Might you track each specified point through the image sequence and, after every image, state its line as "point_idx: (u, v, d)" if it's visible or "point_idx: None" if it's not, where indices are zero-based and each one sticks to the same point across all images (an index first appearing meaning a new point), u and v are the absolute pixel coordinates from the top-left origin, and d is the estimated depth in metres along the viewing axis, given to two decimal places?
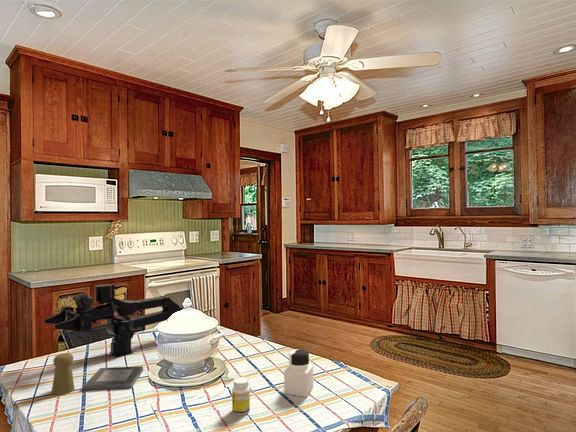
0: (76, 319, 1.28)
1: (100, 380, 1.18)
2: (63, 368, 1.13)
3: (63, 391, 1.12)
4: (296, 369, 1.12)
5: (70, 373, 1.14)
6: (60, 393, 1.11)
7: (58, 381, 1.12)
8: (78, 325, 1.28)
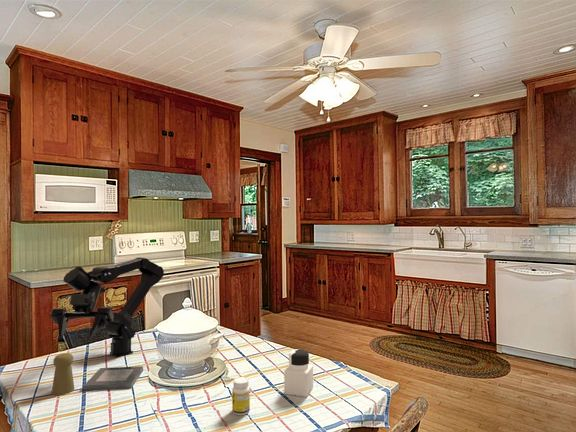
0: (100, 318, 1.26)
1: (100, 380, 1.18)
2: (63, 368, 1.13)
3: (63, 391, 1.12)
4: (296, 369, 1.12)
5: (70, 373, 1.14)
6: (60, 393, 1.11)
7: (58, 381, 1.12)
8: (103, 321, 1.28)
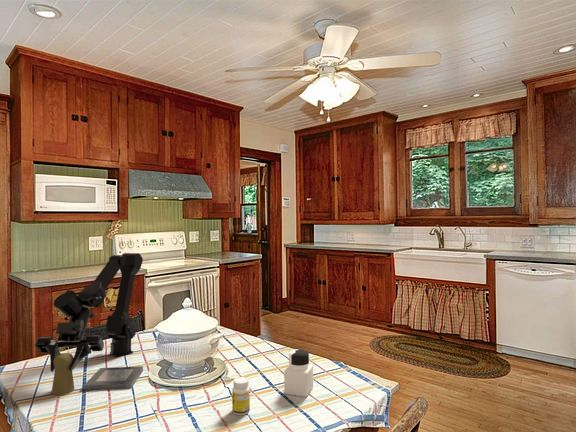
0: (82, 348, 1.17)
1: (100, 380, 1.18)
2: (63, 368, 1.13)
3: (63, 391, 1.12)
4: (296, 369, 1.12)
5: (70, 373, 1.14)
6: (60, 393, 1.11)
7: (58, 381, 1.12)
8: (86, 350, 1.19)
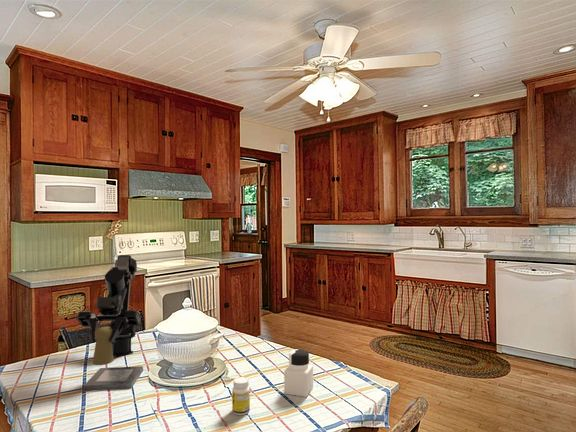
0: (121, 322, 1.23)
1: (100, 380, 1.18)
2: (104, 340, 1.19)
3: (104, 361, 1.18)
4: (296, 369, 1.12)
5: (110, 345, 1.20)
6: (101, 363, 1.18)
7: (99, 351, 1.18)
8: (124, 324, 1.25)
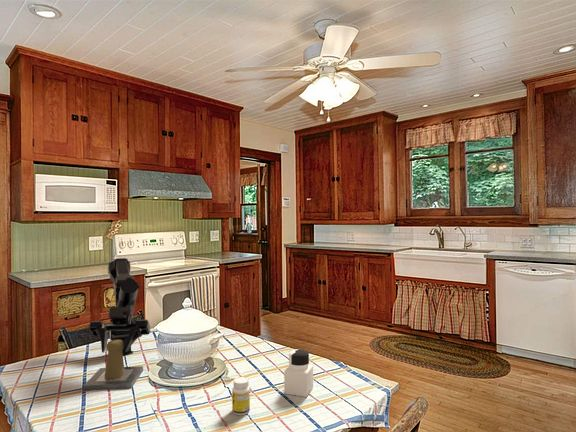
0: (135, 331, 1.25)
1: (100, 380, 1.18)
2: (115, 353, 1.21)
3: (116, 374, 1.20)
4: (296, 369, 1.12)
5: (121, 358, 1.22)
6: (113, 376, 1.19)
7: (111, 365, 1.20)
8: (137, 333, 1.27)
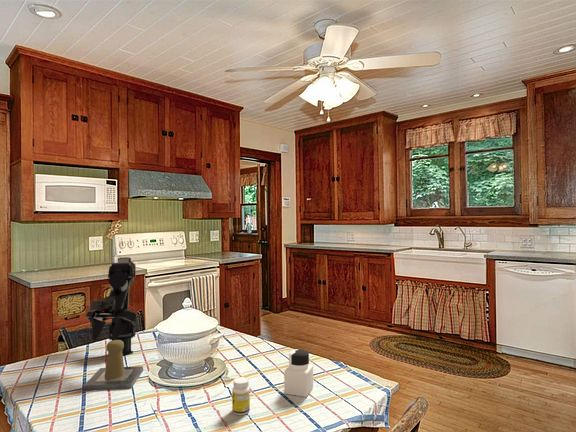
0: (119, 321, 1.28)
1: (100, 380, 1.18)
2: (115, 353, 1.21)
3: (116, 375, 1.20)
4: (296, 369, 1.12)
5: (121, 358, 1.22)
6: (113, 377, 1.19)
7: (111, 365, 1.20)
8: (125, 321, 1.29)
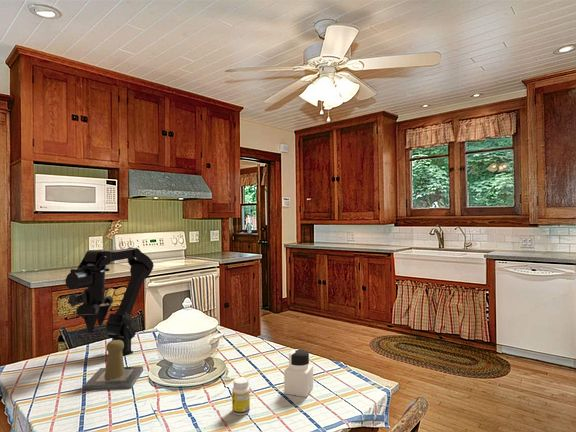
0: (83, 316, 1.28)
1: (100, 380, 1.18)
2: (115, 353, 1.21)
3: (116, 375, 1.20)
4: (296, 369, 1.12)
5: (121, 358, 1.22)
6: (113, 377, 1.19)
7: (111, 365, 1.20)
8: None
